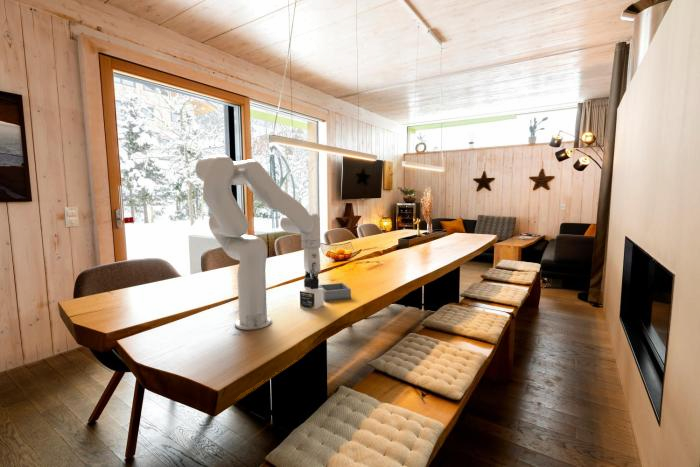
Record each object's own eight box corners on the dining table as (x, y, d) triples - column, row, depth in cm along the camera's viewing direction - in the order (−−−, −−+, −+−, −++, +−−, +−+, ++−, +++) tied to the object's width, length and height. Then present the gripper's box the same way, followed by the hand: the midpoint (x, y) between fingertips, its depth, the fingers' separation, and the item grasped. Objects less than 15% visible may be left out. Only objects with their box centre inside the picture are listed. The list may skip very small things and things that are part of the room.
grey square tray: (350, 298, 153) (350, 288, 153) (325, 301, 150) (325, 291, 149) (342, 292, 164) (342, 282, 164) (318, 294, 161) (318, 284, 160)
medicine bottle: (299, 307, 142) (299, 278, 141) (309, 302, 148) (309, 275, 147) (314, 310, 139) (313, 280, 137) (324, 305, 145) (323, 276, 144)
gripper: (325, 246, 134) (326, 290, 136) (315, 241, 150) (315, 280, 152) (306, 247, 131) (307, 292, 133) (297, 241, 148) (298, 281, 150)
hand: (311, 285), depth 143 cm, fingers open, 9 cm apart
